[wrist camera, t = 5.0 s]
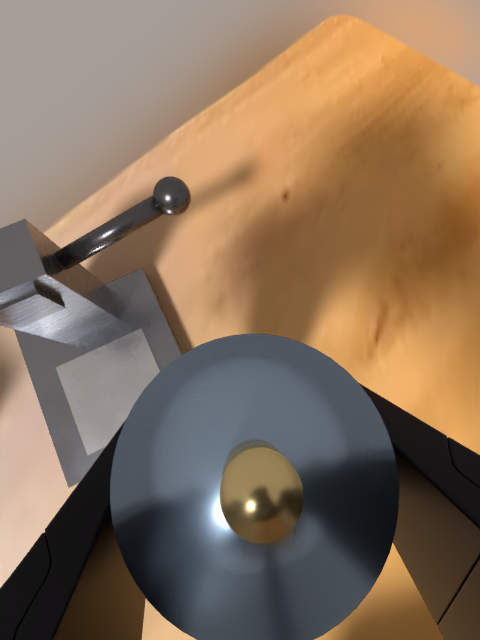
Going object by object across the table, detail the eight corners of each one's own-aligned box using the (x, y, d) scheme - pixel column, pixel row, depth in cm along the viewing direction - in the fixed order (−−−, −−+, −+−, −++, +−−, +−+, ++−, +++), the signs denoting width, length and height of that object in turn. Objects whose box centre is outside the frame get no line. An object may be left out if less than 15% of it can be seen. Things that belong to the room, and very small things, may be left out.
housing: (310, 403, 16) (489, 417, 5) (264, 504, 14) (360, 838, 3) (221, 355, 16) (196, 266, 5) (169, 448, 15) (-5, 587, 4)
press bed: (265, 386, 23) (293, 383, 12) (77, 482, 21) (-76, 574, 10) (197, 251, 25) (173, 152, 14) (23, 328, 23) (-147, 277, 13)
